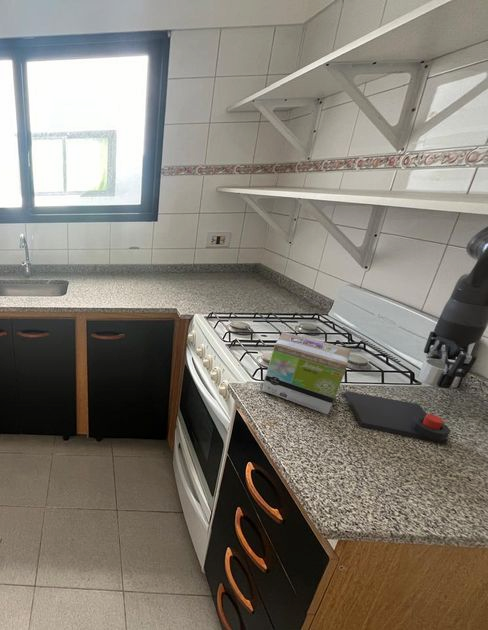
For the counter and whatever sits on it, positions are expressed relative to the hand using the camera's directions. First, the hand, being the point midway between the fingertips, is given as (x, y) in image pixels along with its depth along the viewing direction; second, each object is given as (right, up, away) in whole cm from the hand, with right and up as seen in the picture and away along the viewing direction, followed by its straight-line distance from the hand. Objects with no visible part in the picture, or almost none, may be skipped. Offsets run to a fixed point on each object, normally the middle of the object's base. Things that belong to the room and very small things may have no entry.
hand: (435, 379), depth 86 cm
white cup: (0, -1, 0) cm, 1 cm away
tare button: (-12, -8, -10) cm, 18 cm away
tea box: (-32, -5, +5) cm, 32 cm away
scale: (-15, -8, -4) cm, 17 cm away
